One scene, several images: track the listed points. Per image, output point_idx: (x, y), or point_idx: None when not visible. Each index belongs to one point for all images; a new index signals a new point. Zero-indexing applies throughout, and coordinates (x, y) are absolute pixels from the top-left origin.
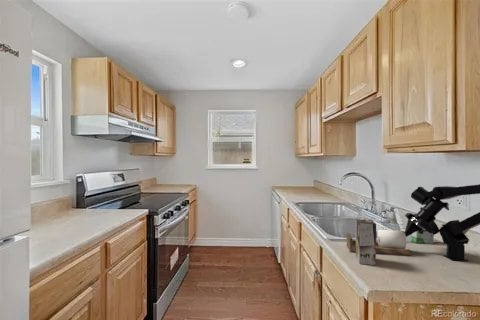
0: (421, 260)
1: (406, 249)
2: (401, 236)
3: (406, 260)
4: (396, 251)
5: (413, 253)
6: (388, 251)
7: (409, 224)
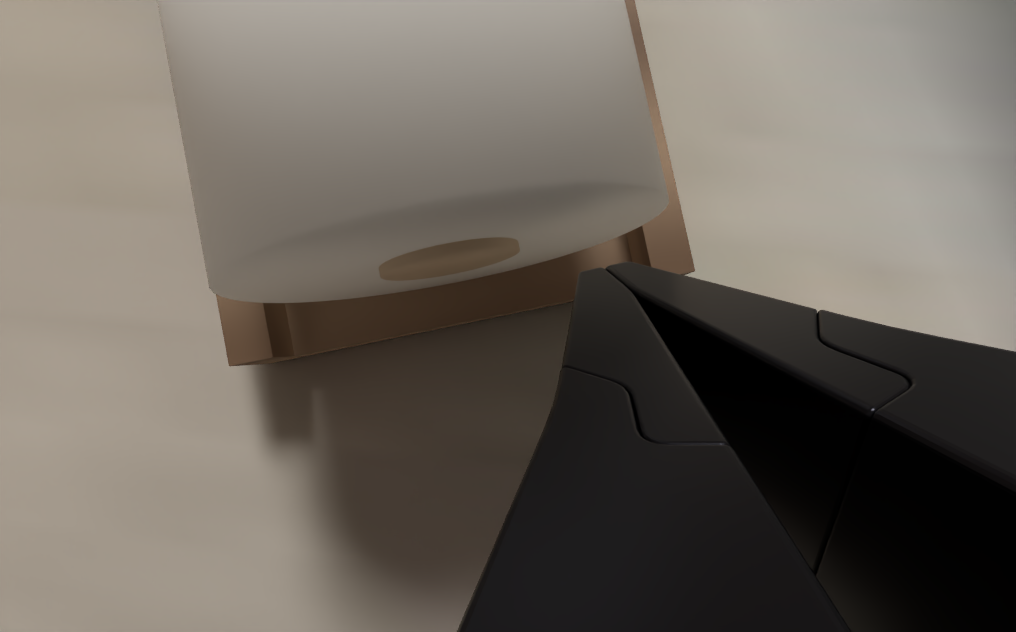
0: (103, 506)
1: (259, 311)
2: (196, 157)
3: (13, 294)
4: None
5: (453, 430)
6: None
7: (668, 465)
